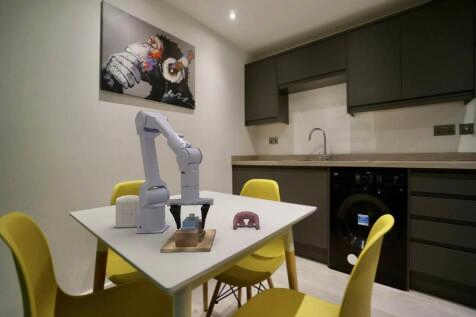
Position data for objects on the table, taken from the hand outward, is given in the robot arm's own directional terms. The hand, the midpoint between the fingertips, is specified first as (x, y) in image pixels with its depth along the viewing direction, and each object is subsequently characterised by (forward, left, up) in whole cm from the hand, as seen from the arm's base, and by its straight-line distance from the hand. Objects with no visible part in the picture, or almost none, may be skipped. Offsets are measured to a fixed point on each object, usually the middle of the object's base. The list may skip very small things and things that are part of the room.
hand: (191, 228), depth 69 cm
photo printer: (-28, +17, -4) cm, 33 cm away
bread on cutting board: (0, 0, -4) cm, 4 cm away
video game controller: (+18, +13, -4) cm, 22 cm away
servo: (0, 0, -3) cm, 3 cm away
